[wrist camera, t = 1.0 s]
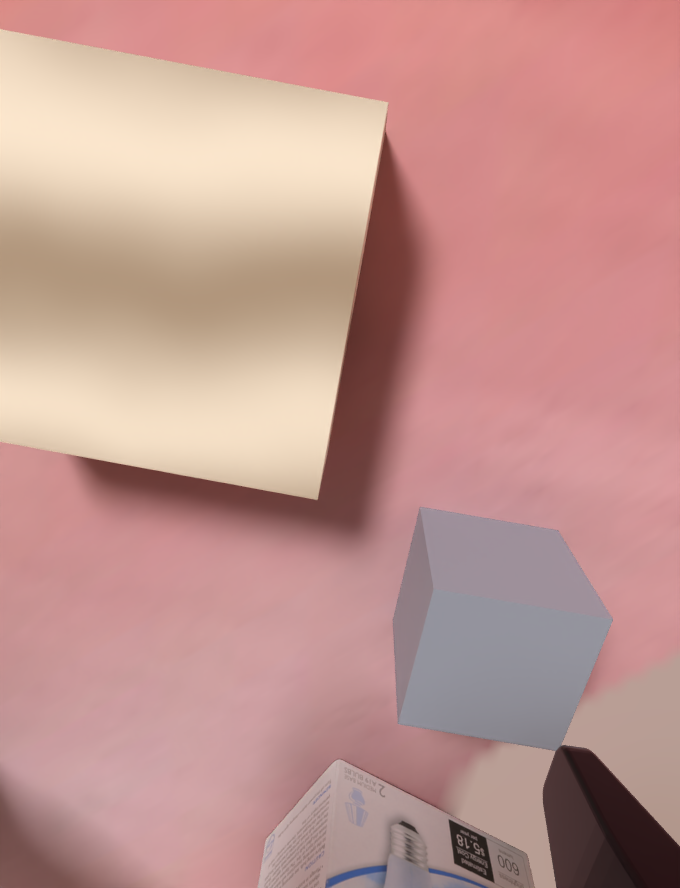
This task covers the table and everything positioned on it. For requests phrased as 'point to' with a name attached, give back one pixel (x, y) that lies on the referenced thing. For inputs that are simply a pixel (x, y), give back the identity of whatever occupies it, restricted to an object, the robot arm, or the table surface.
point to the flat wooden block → (177, 261)
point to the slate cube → (493, 630)
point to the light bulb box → (382, 841)
